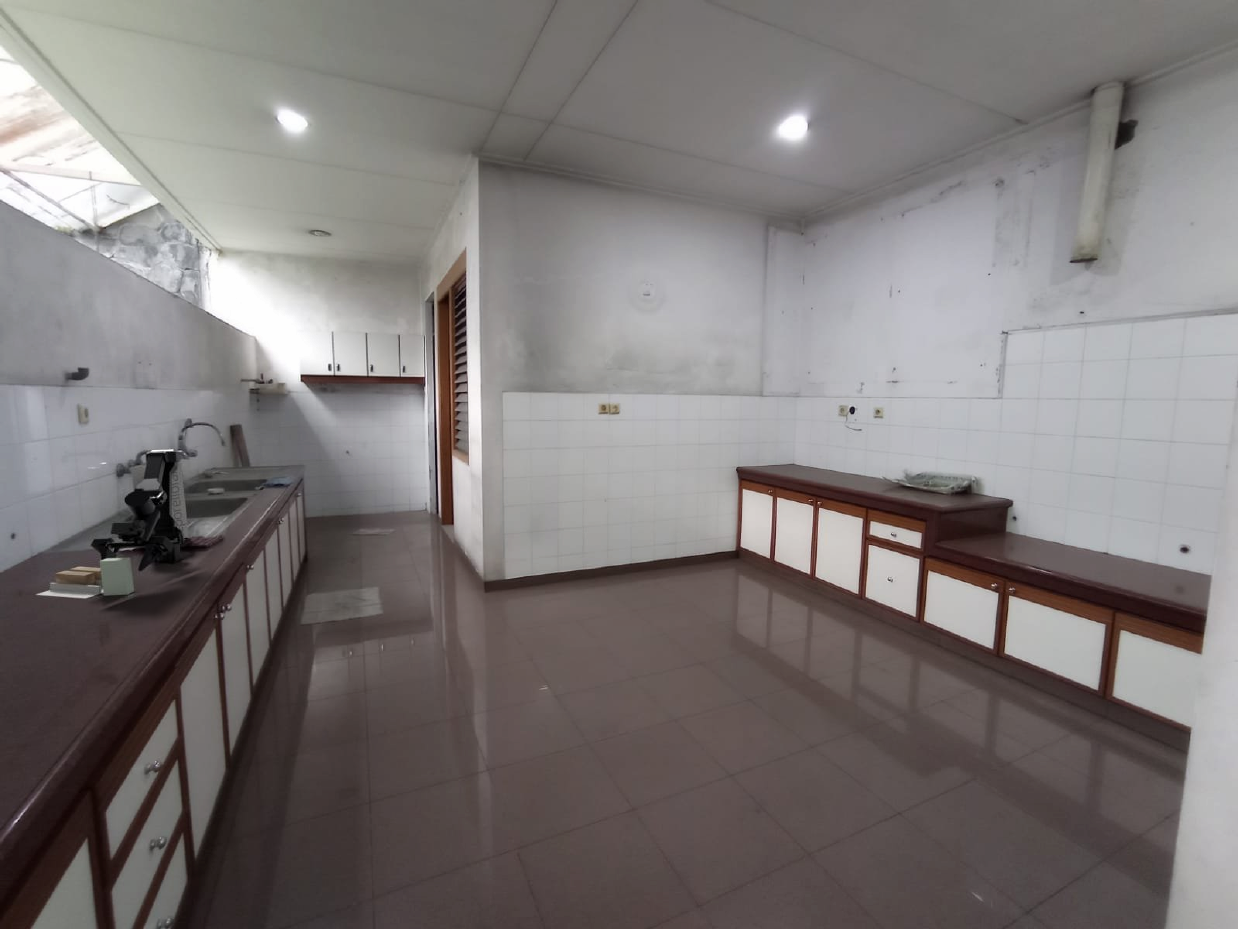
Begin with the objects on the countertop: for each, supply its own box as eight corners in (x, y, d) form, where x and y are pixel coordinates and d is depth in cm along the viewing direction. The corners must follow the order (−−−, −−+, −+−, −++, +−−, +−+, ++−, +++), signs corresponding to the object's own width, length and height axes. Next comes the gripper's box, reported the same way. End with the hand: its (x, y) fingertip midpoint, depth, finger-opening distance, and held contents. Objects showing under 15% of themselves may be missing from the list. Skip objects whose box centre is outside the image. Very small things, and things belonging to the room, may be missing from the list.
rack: (85, 582, 169) (83, 573, 169) (131, 585, 167) (130, 576, 166) (36, 598, 157) (34, 587, 156) (85, 601, 154) (84, 591, 154)
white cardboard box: (151, 548, 204) (142, 467, 200) (139, 547, 205) (130, 467, 201) (188, 538, 218) (181, 462, 214) (177, 537, 219) (169, 462, 215)
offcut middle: (66, 585, 164) (64, 570, 163) (95, 587, 162) (93, 572, 162) (57, 588, 161) (55, 573, 161) (86, 590, 160) (84, 575, 159)
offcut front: (80, 581, 168) (78, 566, 167) (109, 583, 166) (107, 568, 165) (71, 583, 165) (69, 569, 164) (100, 586, 164) (98, 571, 163)
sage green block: (110, 595, 159) (105, 558, 157) (134, 594, 160) (130, 557, 159) (104, 599, 157) (99, 561, 155) (128, 597, 158) (124, 560, 156)
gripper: (90, 511, 161) (65, 559, 151) (163, 509, 164) (142, 557, 155) (113, 530, 169) (91, 577, 160) (182, 528, 172) (163, 574, 163)
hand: (121, 571), depth 159 cm, fingers open, 9 cm apart
